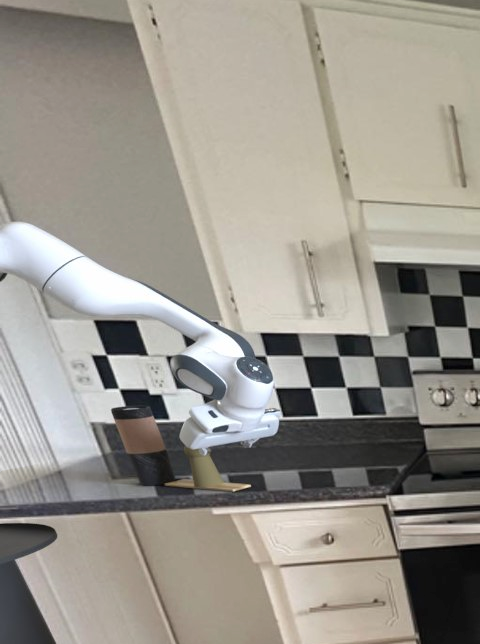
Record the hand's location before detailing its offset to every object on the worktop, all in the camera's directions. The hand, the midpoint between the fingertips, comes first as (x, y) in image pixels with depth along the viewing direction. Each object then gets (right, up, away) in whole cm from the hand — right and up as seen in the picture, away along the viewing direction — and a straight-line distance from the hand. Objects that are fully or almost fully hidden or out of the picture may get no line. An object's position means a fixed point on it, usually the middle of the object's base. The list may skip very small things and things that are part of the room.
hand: (225, 449), depth 165 cm
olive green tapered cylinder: (-12, -8, +8) cm, 16 cm away
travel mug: (-28, -7, +11) cm, 31 cm away
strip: (-12, -8, +9) cm, 17 cm away
